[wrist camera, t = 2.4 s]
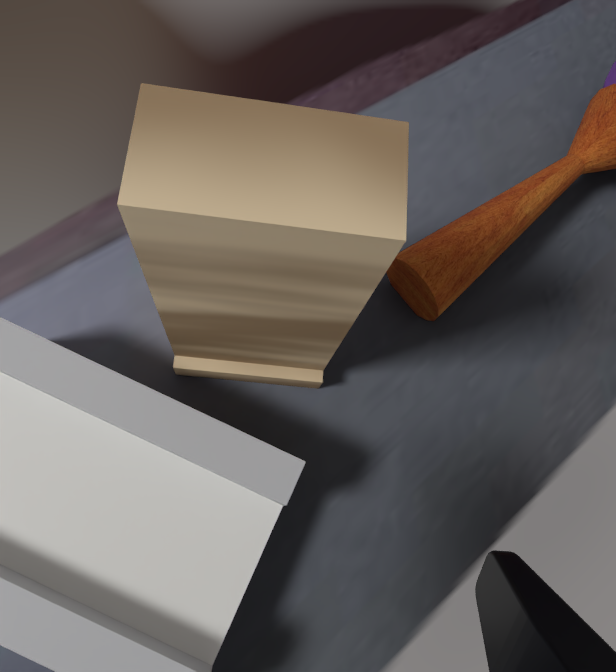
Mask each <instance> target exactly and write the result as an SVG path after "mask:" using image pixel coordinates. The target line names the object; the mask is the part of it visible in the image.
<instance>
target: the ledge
mask: <svg viewBox="0 0 616 672" xmlns="http://www.w3.org/2000/svg"><path fill="white" fill-rule="evenodd" d="M305 463H306V462H305V461H303V460H301V459H299V458H297V457H295V456H293V455H291V454H289V453H286V452H284V451H282V450H280V449H278V448H276V447H274V446H272V445H269V444H267V443H265V442H263V441H261V440H259V439H257V438H255V437H253V436H250V435H248V434H246V433H244V432H242V431H240V430H238V429H236V428H233V427H231V426H229V425H227V424H225V423H223V422H221V421H219V420H217V419H214V418H212V417H210V416H208V415H206V414H204V413H202V412H200V411H197V410H195V409H193V408H191V407H189V406H187V405H185V404H183V403H181V402H178V401H176V400H174V399H172V398H170V397H168V396H166V395H164V394H161V393H159V392H157V391H155V390H153V389H151V388H149V387H147V386H145V385H142V384H140V383H138V382H136V381H134V380H132V379H130V378H128V377H125V376H123V375H121V374H119V373H117V372H115V371H113V370H111V369H109V368H106V367H104V366H102V365H100V364H98V363H96V362H94V361H92V360H89V359H87V358H85V357H83V356H81V355H79V354H77V353H75V352H73V351H70V350H68V349H66V348H64V347H62V346H60V345H58V344H56V343H53V342H51V341H49V340H47V339H45V338H43V337H41V336H39V335H37V334H34V333H32V332H30V331H28V330H26V329H24V328H22V327H20V326H17V325H15V324H13V323H11V322H9V321H7V320H5V319H3V318H1V317H0V645H1V646H3V647H5V648H7V649H10V650H12V651H14V652H16V653H18V654H20V655H22V656H24V657H26V658H28V659H30V660H32V661H35V662H37V663H39V664H41V665H43V666H45V667H47V668H49V669H51V670H53V671H55V672H212V665H213V663H214V661H215V659H216V656H217V654H218V652H219V650H220V647H221V645H222V643H223V641H224V638H225V636H226V634H227V631H228V629H229V627H230V625H231V622H232V620H233V618H234V616H235V613H236V611H237V609H238V607H239V604H240V602H241V600H242V598H243V595H244V593H245V591H246V588H247V586H248V584H249V582H250V579H251V577H252V575H253V573H254V570H255V568H256V566H257V564H258V561H259V559H260V557H261V554H262V552H263V550H264V548H265V545H266V543H267V541H268V539H269V536H270V534H271V532H272V530H273V527H274V525H275V523H276V521H277V518H278V516H279V514H280V511H281V509H282V507H283V506H286V505H287V503H288V501H289V499H290V497H291V494H292V492H293V490H294V488H295V485H296V483H297V481H298V478H299V476H300V474H301V472H302V469H303V467H304V465H305Z"/></svg>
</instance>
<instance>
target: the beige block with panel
mask: <svg viewBox="0 0 616 672" xmlns="http://www.w3.org/2000/svg"><path fill="white" fill-rule="evenodd" d="M408 135H409V122H403V121H397V120H390V119H383V118H376V117H369V116H362V115H355V114H349V113H342V112H335V111H328V110H321V109H314V108H308V107H301V106H294V105H287V104H280V103H273V102H266V101H259V100H253V99H246V98H239V97H232V96H225V95H218V94H211V93H205V92H198V91H191V90H184V89H177V88H171V87H163V86H157V85H150V84H142V83H141V86H140V91H139V96H138V102H137V106H136V112H135V116H134V122H133V127H132V132H131V137H130V142H129V147H128V152H127V157H126V162H125V168H124V173H123V177H122V183H121V188H120V193H119V198H118V203H117V205H118V208H119V211H120V213H121V216H122V218H123V221H124V224H125V226H126V229H127V232H128V234H129V237H130V239H131V242H132V245H133V247H134V250H135V252H136V255H137V258H138V260H139V263H140V266H141V268H142V271H143V273H144V276H145V279H146V281H147V284H148V287H149V289H150V292H151V294H152V297H153V300H154V302H155V305H156V308H157V310H158V313H159V315H160V318H161V321H162V323H163V326H164V329H165V331H166V334H167V336H168V339H169V342H170V344H171V347H172V350H173V352H174V355H175V357H174V364H173V369H174V371H175V374H176V375H186V376H196V377H206V378H216V379H227V380H237V381H247V382H257V383H267V384H277V385H288V386H298V387H308V388H319V387H320V385H321V384H322V383H323V370H324V369H325V367H326V366H327V364H328V362H329V361H330V359H331V358H332V356H333V355H334V353H335V351H336V350H337V348H338V347H339V345H340V344H341V342H342V340H343V339H344V337H345V336H346V334H347V333H348V331H349V329H350V328H351V326H352V325H353V323H354V322H355V320H356V318H357V317H358V315H359V314H360V312H361V311H362V309H363V307H364V306H365V304H366V303H367V301H368V300H369V298H370V297H371V295H372V293H373V292H374V290H375V289H376V287H377V286H378V284H379V282H380V281H381V279H382V278H383V276H384V275H385V273H386V271H387V270H388V268H389V267H390V265H391V264H392V262H393V260H394V259H395V257H396V256H397V254H398V253H399V251H400V249H401V248H402V246H403V245H404V243H405V242H406V223H407V179H408Z"/></svg>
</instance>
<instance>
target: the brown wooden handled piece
mask: <svg viewBox="0 0 616 672" xmlns="http://www.w3.org/2000/svg"><path fill="white" fill-rule="evenodd" d="M611 169H616V61H615V63H614V64H613V65H612V67H611V70H610V72H609V74H608V76H607V78H606V80H605V83H604V87H603V89H600V90H599V91H598V92H597V94H596V95H595V96H594V97H593V98H592V99H591V101H590V103H589V105H588V107H587V110H586V112H585V114H584V117H583V119H582V121H581V124H580V126H579V128H578V131H577V133H576V135H575V138H574V140H573V142H572V145H571V147H570V149H569V151H568V154H567V156H566V157H564V158H562V159H560V160H559V161H557V162H555V163H553V164H552V165H550V166H548V167H547V168H545V169H543V170H541V171H540V172H538V173H536V174H534V175H533V176H531V177H529V178H527V179H526V180H524V181H522V182H521V183H519V184H517V185H515V186H514V187H512V188H510V189H508V190H507V191H505V192H503V193H502V194H500V195H498V196H496V197H495V198H493V199H491V200H489V201H488V202H486V203H484V204H482V205H481V206H479V207H477V208H476V209H474V210H472V211H470V212H469V213H467V214H465V215H463V216H462V217H460V218H458V219H457V220H455V221H453V222H451V223H450V224H448V225H446V226H444V227H443V228H441V229H439V230H437V231H436V232H434V233H432V234H431V235H429V236H427V237H425V238H424V239H422V240H420V241H418V242H417V243H415V244H413V245H412V246H410V247H408V248H406V249H405V250H403V251H401V252H399V253H398V254H397V256H396V257H395V259H394V260H393V262H392V264H391V265H390V267H389V268H388V270H387V271H386V273H387V276H388V278H389V281H390V283H391V285H392V286H393V288H394V289H395V290H396V291H397V292H398V293H399V295H400V296H401V297H402V298H403V299H404V301H405V302H406V303H407V304H408V305H409V306H410V308H411V309H412V310H413V311H414V312H415V313H416V315H418V316H420V317H421V318H423V319H425V320H429V321H434V320H435V319H437V318H438V317H439V316H440V315H441V314H442V313H443V312H444V311H445V310H446V309H447V308H448V307H449V306H450V305H451V304H452V303H453V302H454V301H455V300H456V299H457V298H458V297H459V296H460V295H461V294H462V293H463V292H464V291H465V290H466V289H467V288H468V287H469V286H470V285H471V284H472V283H473V282H474V281H475V280H476V279H477V278H478V277H479V276H480V275H481V274H482V273H483V272H484V271H485V270H486V269H487V268H488V267H489V266H490V265H491V264H492V263H493V262H494V261H495V260H496V259H497V258H498V257H499V256H500V255H501V254H502V253H503V252H504V251H505V250H506V249H507V248H508V247H509V246H510V245H511V244H512V243H513V242H514V241H515V240H516V239H517V238H518V237H519V236H520V235H521V234H522V233H523V232H524V231H525V230H526V229H527V228H528V227H529V226H530V225H531V224H532V223H533V222H534V221H535V220H536V219H537V218H538V217H539V216H540V215H541V214H542V213H543V212H544V211H545V210H546V209H547V208H548V207H549V206H550V205H551V204H552V203H553V202H554V201H555V200H556V199H557V198H558V197H559V196H560V195H561V194H562V193H563V192H564V191H565V190H566V189H567V188H568V187H569V186H570V185H571V184H572V183H573V182H574V181H575V180H576V179H577V178H578V177H579V176H580V175H581V174H586V173H593V172H599V171H605V170H611Z"/></svg>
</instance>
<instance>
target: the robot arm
mask: <svg viewBox="0 0 616 672" xmlns="http://www.w3.org/2000/svg"><path fill="white" fill-rule="evenodd" d="M476 600H477V606H478V611H479V617H480V622H481V628H482V633H483V639H484V644H485V650H486V655H487V661H488V666H489V672H616V652H615V651H614V650H613V649H612V648H611V647H610V646H609V645H608V644H607V643H606V642H605V641H604V640H603V639H602V638H601V637H600V636H599V635H598V634H597V633H596V632H595V631H594V630H593V629H592V628H591V627H590V626H589V625H588V624H587V623H586V622H585V621H584V620H583V619H582V618H581V617H580V616H579V615H578V614H577V613H576V612H575V611H574V610H573V609H572V608H571V607H570V606H569V605H568V604H566V602H565V601H564V600H563V599H562V598H561V597H559V595H558V594H556V593H555V592H554V591H553V590H552V589H551V588H550V587H549V586H548V585H547V584H546V583H545V582H544V581H543V580H542V579H541V578H540V577H539V576H538V575H537V574H536V573H535V572H534V571H533V570H532V569H531V568H530V567H529V566H528V565H527V564H526V563H525V562H524V561H523V560H522V559H521V558H520V557H519V556H518V555H517V554H515V553H513V552H508V551H491V552H490V553H488V555H487V557H486V559H485V562H484V564H483V567H482V570H481V572H480V575H479V577H478V580H477V583H476Z"/></svg>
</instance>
